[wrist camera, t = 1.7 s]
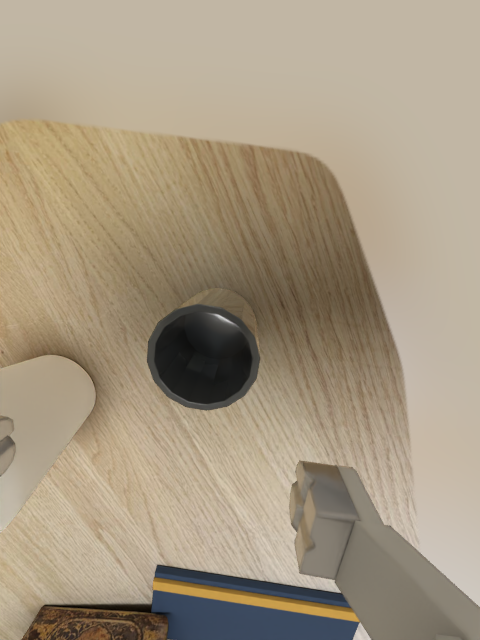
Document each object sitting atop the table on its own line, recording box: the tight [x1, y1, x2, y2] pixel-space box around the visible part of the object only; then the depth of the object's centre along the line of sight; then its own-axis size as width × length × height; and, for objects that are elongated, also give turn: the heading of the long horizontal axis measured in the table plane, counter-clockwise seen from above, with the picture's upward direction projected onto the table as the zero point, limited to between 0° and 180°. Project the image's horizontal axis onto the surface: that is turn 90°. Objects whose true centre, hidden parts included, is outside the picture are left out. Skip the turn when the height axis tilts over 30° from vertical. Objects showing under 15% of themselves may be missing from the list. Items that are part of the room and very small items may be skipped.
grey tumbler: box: [147, 288, 260, 410], centre depth 17 cm, size 6×6×7 cm
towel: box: [151, 565, 360, 640], centre depth 28 cm, size 22×10×1 cm, turn 81°
